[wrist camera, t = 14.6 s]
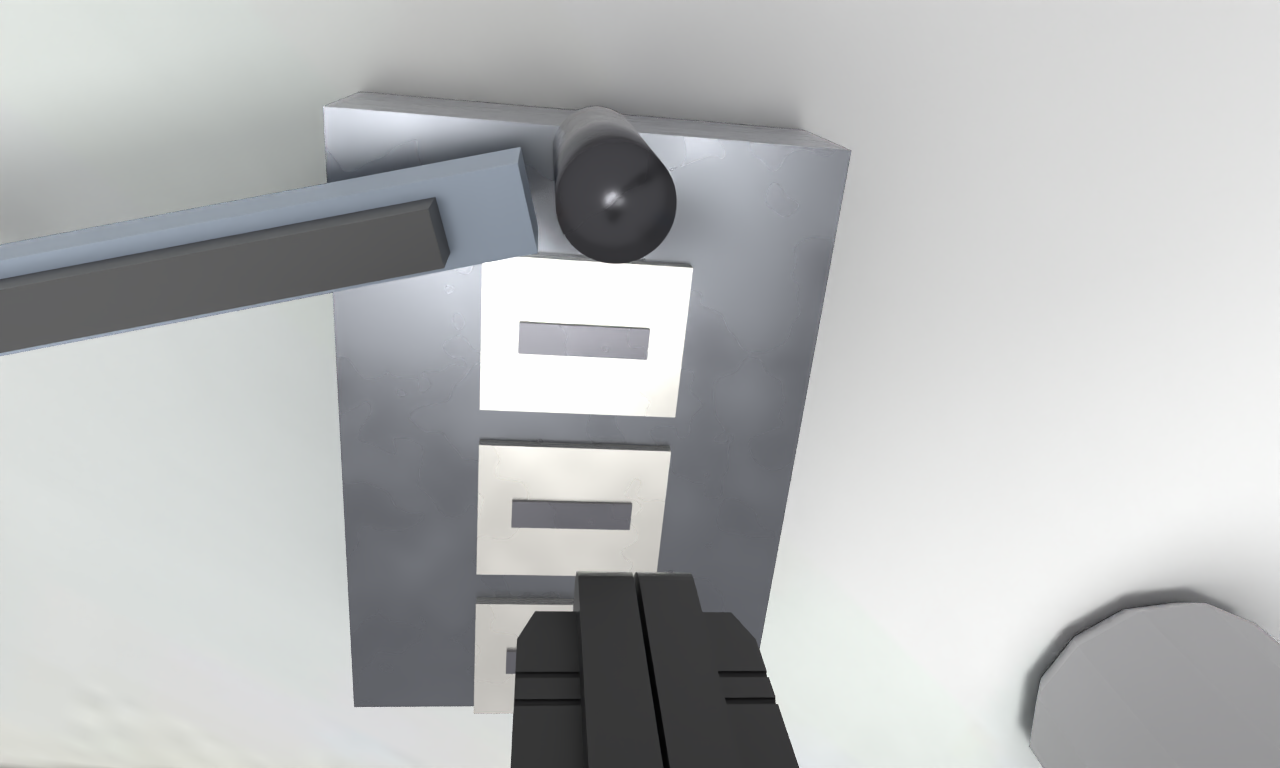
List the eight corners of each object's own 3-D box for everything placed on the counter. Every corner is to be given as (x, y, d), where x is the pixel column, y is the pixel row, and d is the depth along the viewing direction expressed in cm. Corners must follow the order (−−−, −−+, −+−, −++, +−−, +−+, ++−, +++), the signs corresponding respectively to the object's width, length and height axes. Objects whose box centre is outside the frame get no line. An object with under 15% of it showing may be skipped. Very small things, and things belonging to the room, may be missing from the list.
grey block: (806, 111, 23) (974, 170, 14) (724, 621, 30) (802, 883, 21) (359, 71, 22) (224, 109, 13) (378, 619, 29) (300, 900, 19)
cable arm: (543, 238, 18) (542, 290, 14) (-183, 377, 17) (-359, 464, 14) (516, 121, 17) (510, 147, 13) (-252, 265, 16) (-461, 329, 13)
